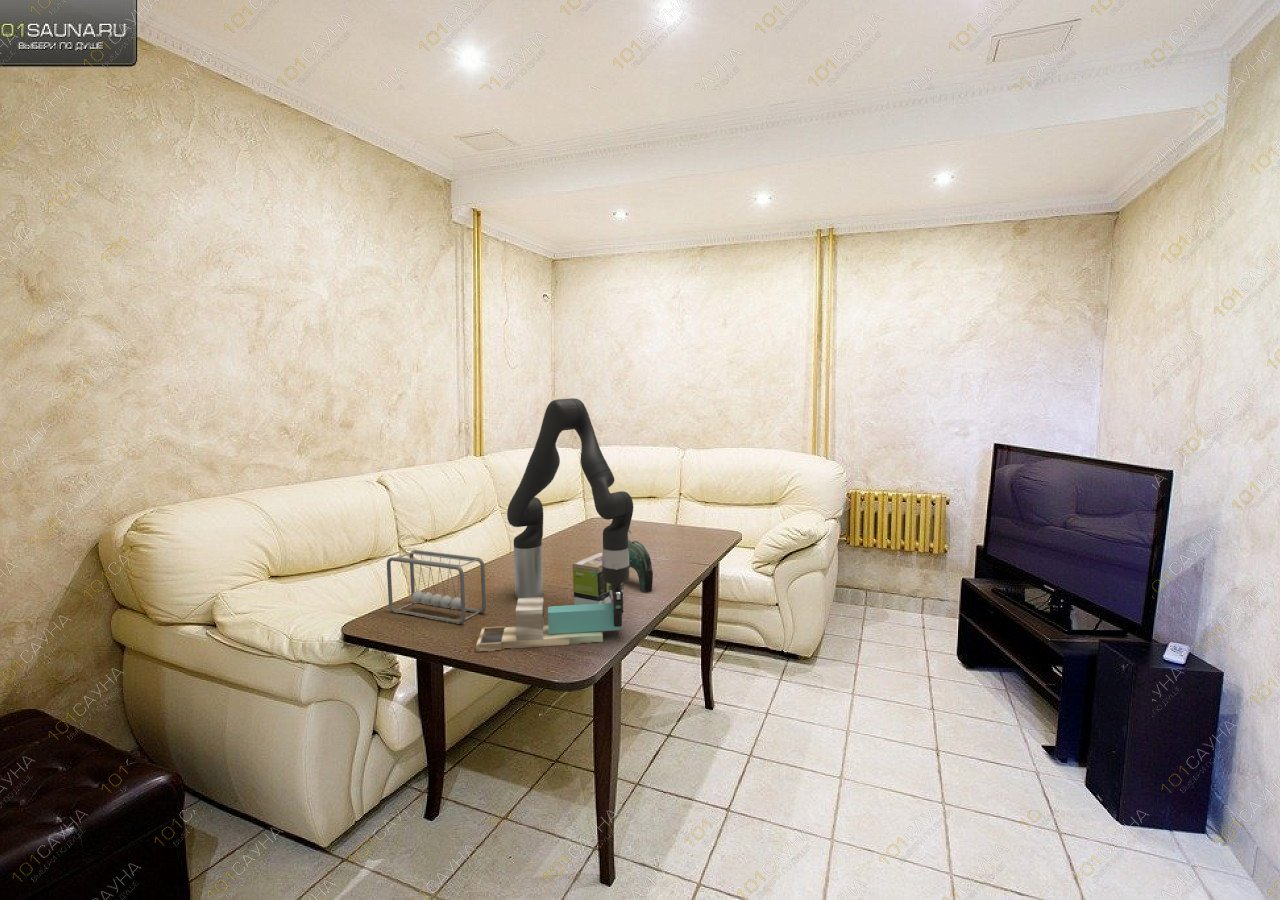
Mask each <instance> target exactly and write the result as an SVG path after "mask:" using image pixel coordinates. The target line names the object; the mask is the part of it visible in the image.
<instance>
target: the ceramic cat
mask: <svg viewBox="0 0 1280 900" xmlns="http://www.w3.org/2000/svg"><path fill="white" fill-rule="evenodd" d="M628 533H629V534H631V535H632V532H631V530H630V529H629V530H628ZM628 551H629V569H630V568H632V569H633V570H635V572H636V574H637V576H638V581H639V587H640V592H642V591H643V592H642V593H645V592H646V593H649V592H648V591H650V592H652V591H653V582H654V581H653V578H654V577H653V576H654V571H653V567H652V566H653V565H652V564H653V563H652V561H651V560H652V559H651V556H650V554H649V551H648V550H647V548H645V546H644V545H643V543H642V542H639V541H637V540H635V541H631V539H630V538H629V537H628Z"/></svg>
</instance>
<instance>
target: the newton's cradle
mask: <svg viewBox="0 0 1280 900" xmlns="http://www.w3.org/2000/svg"><path fill="white" fill-rule="evenodd" d="M408 555H409V558H408V557H405V556H408ZM414 555H418V556H414ZM423 556H426V557H424V558H423ZM417 557H420V559H415V558H417ZM432 557H434V559H430V560H424V559H428V558H432ZM438 559H439V562H438V561H435V560H438ZM441 559H446V561H447V560H456V561H453V562H447V563H446V562H444V560H442V561H441ZM461 561H466V563H463V564H461ZM391 562H397V563H405V564H409V574H410V594H411V600H412V602H411V603H409V604H407V605H404V606H402V607H400V608H397V609H396V608H395V607H394V605H393V588H392V587H393V586H392V585H393V584H392V583H393V582H392V568H391V567H392V566H391V564H392V563H391ZM455 562H459V564H454V563H455ZM474 562H478V563H479V564H480V565H479V566H480V584H481V585H480V587H481V588H480V589H481V609H475V608H470V607H466V595H465V594H466V593H465V577H464V576H465V574H464V570H463V568H462V567H464V566H466V565H469V564H471V563H474ZM414 565H419V566H420V569H419V570H420V571H419V574H421V575H422V581H423V585H424V592H422V591H421V590H420V587H418V588H417V585H416V578H415V568H414V567H415V566H414ZM422 566H427V567H429V574H428V578H430V577H431V579H432V584H433V585H432V586H433V588H434V589H433V590H434V594H433V593H431V592H429V591H427V589H429V586H430V581H428V584H427V589H426V585H425V584H426V583H425V578H424V574H423V569H422ZM431 567H435V568H439V570H438V573H439V574H440V576H438V579H437V584H439V582H440V581H439V579H440V577H441V582H442V588H443V589H445V587H444V586H445V585H444V581H443V576H442V571H441V568H442V569H448V570H449V573H448V575H447V581H449V578H450V577H451V583H452V587H453V591H454V597H453V598H452V597H451V596H450V595H448V594H446V593H445V592H448V591H449V584H447V587H446V591H445V590H443V593H444V595H443V596H442V594H441V593H440V594H439V593H438V592H439V587H437V591H436V589H435V583H434V578H433V573H432V568H431ZM451 570H457V571H458V574H459V576H458V580H457V582H458V583H457V586H459V587H460V597H459V592H456V591H455V587H454V586H455V585H454V581H453V576H452V571H451ZM485 572H486V571H485V563H484V561H483V559H482V558H480V557H474V556H468V555H460V554H450V553H443V552H436V551H435V552H434V551H427V550H420V549H413V550H411V551H410V552H408V553H406V554H402V555H399V556H396V557H393V556H392V557H391V556H390V557H389V558H388V559H387V561H386V576H387V577H386V578H387V580H386V581H387V594H388V595H387V597H388V598H387V599H388V607H389V609H390V611H391V612H392V611H397V612H403V613H408V614H412V615H418V616H423V617H428V618H433V619H438V620H443V621H448V622H454V623H459V624H461V625H463V624H464V623H465V621H466V620H468V619H471V618H472V617H474V616H476V615H477V614H478V613H482V614H483V613H485V611H486V608H487V604H486V603H487V601H486V599H487V598H486V574H485ZM430 575H431V576H430ZM449 576H450V577H449ZM420 579H421V577H419V579H418V584H420V581H421V580H420ZM459 584H460V585H459ZM456 593H457V595H456ZM420 602H422V603H423V604H422V605H425V606H429V605H428V604H432V605H433V606H432V607H437V606H442V607H441V608H443V607H444V608H443V609H448V607H449V608H453V609H452V610H454V609H455V611H460V610H461V612H460V613H461V616H460V617H461V618H460V619H461V620H457V619H453V618H448V617H442V616H436V615H430V614H424V613H418V612H413V611H408V610H403V609H404V608H403V607H405V608H407V607H409V606H408V605H410V606H412V605H413V604H412V603H414V604H419V603H420ZM411 604H412V605H411ZM406 606H407V607H406ZM401 608H403V609H401ZM398 609H400V610H398ZM458 609H460V610H458ZM465 610H466V611H471V612H470V613H472V612H477V613H472V614H471V615H470V616H467V617H466V611H465ZM448 622H447V623H448Z"/></svg>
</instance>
